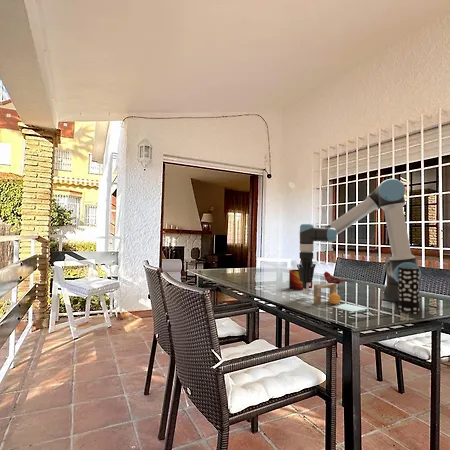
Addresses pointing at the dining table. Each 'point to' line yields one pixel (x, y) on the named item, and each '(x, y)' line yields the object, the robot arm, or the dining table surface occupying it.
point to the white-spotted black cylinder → (408, 290)
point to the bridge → (318, 291)
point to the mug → (296, 280)
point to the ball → (334, 298)
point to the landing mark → (349, 307)
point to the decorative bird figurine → (332, 278)
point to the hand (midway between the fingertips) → (306, 294)
